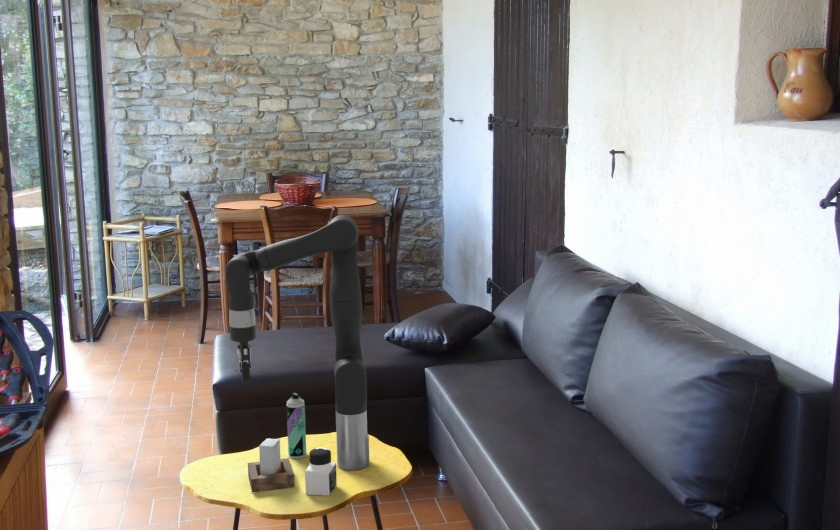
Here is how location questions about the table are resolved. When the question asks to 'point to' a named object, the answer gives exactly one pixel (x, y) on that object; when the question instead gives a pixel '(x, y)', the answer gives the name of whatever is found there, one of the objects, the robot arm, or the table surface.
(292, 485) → the walnut well block
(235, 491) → the table surface
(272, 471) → the skincare box
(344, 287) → the robot arm
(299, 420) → the spray can
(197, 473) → the table surface
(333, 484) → the medicine bottle
